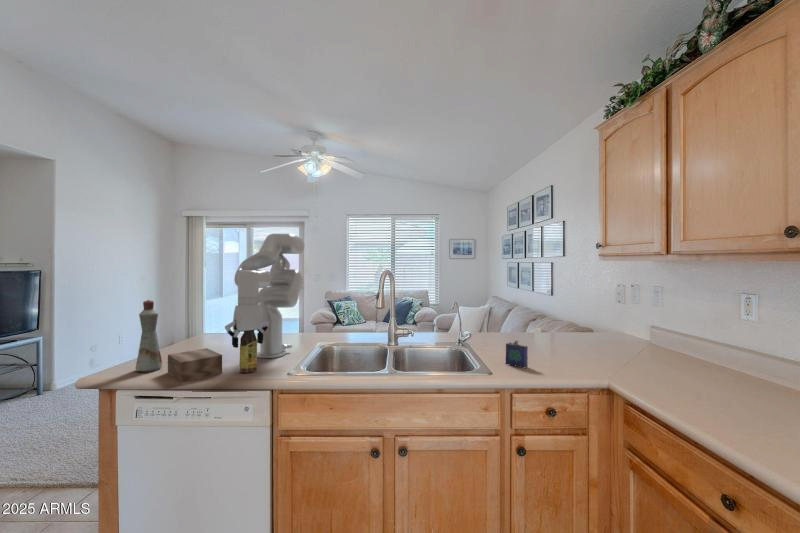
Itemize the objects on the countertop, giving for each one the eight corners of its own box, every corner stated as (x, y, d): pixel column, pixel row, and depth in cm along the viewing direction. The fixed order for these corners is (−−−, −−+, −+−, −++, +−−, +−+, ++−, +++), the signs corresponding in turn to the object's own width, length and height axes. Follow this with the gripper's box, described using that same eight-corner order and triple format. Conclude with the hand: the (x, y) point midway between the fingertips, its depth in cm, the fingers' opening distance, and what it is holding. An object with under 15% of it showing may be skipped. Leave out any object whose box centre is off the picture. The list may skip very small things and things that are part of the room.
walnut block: (206, 364, 146) (206, 348, 146) (222, 373, 135) (222, 355, 135) (167, 372, 135) (167, 354, 135) (181, 382, 125) (181, 362, 124)
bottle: (128, 372, 135) (128, 300, 135) (148, 365, 144) (148, 298, 144) (148, 373, 134) (148, 301, 134) (167, 366, 143) (167, 298, 143)
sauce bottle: (250, 374, 134) (250, 322, 134) (235, 373, 135) (235, 321, 135) (260, 369, 140) (260, 319, 140) (246, 368, 141) (246, 319, 141)
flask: (528, 367, 144) (528, 341, 144) (525, 368, 142) (525, 342, 142) (506, 363, 150) (506, 338, 150) (504, 364, 148) (504, 339, 148)
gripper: (264, 299, 146) (264, 340, 146) (221, 302, 133) (221, 347, 133) (273, 300, 141) (273, 343, 141) (229, 303, 128) (229, 350, 128)
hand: (248, 345), depth 137 cm, fingers open, 9 cm apart
